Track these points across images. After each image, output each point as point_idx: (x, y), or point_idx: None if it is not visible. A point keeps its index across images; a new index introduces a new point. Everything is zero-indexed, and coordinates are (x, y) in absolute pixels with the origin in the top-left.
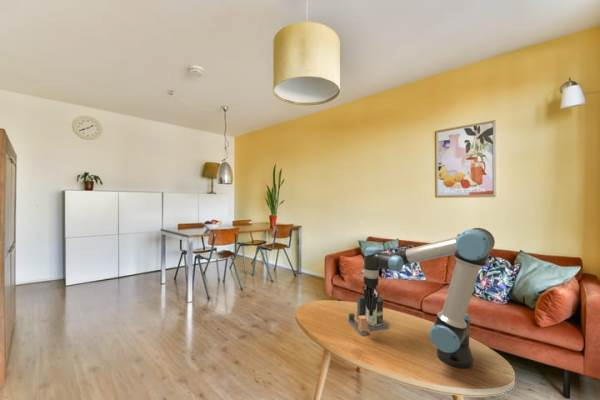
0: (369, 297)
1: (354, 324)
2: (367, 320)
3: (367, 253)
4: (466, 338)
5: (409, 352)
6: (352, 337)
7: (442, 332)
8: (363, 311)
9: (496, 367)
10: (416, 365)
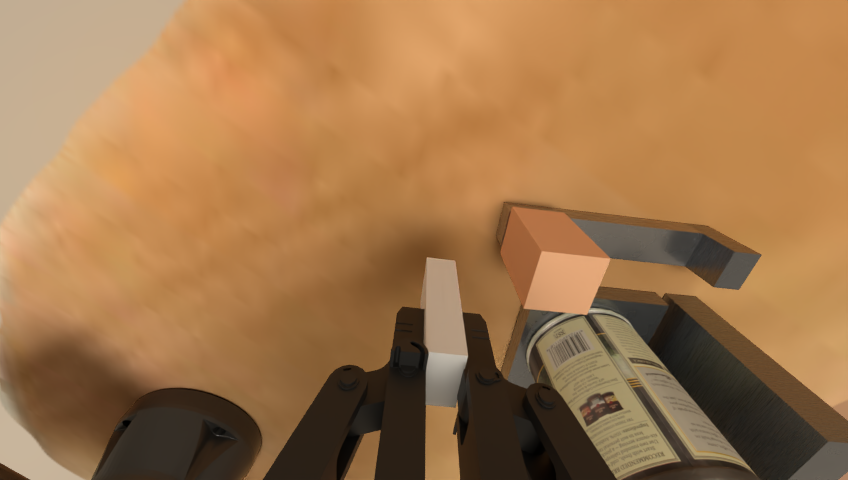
0: None
1: (628, 225)
2: (437, 262)
3: None
4: None
5: (266, 324)
6: (515, 125)
7: None
8: (696, 361)
9: None
10: (152, 282)
